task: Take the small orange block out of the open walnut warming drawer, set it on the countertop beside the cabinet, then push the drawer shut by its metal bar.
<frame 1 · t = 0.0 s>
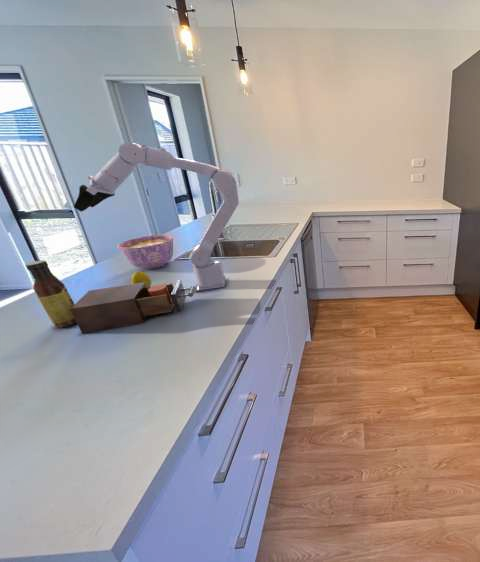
hand: (83, 207, 92), 32 cm above the worktop, tool tilted 50°, fingers open, 7 cm apart
cabinet: (120, 317, 94), on the worktop
bowl of food: (154, 266, 136), on the worktop
drawer: (164, 298, 97), point 4 cm above the worktop, slide at 9.0 cm, touching orange block
lemon: (145, 291, 111), on the worktop
sauce bottle: (68, 323, 92), on the worktop
orange block: (163, 304, 97), point 2 cm above the worktop, touching drawer
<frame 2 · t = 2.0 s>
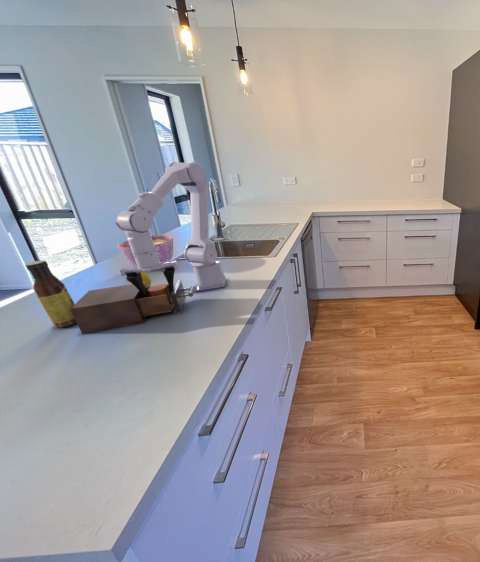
hand: (158, 292, 95), 7 cm above the worktop, tool pointing down, fingers open, 7 cm apart
nothing on the worktop moved.
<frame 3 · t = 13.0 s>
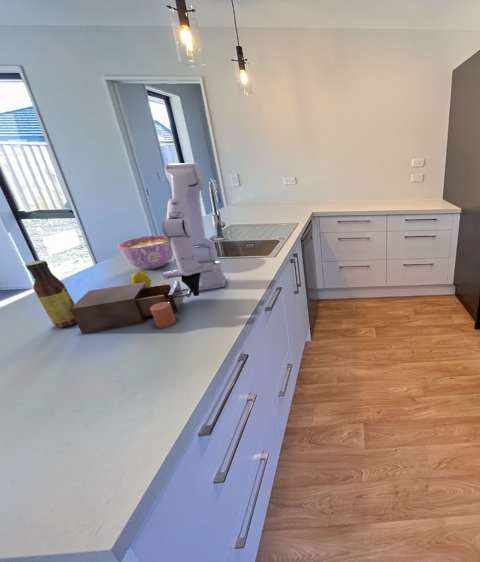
hand: (196, 294, 100), 3 cm above the worktop, tool pointing down, fingers closed
drawer: (161, 298, 96), point 4 cm above the worktop, slide at 8.3 cm, touching gripper
orange block: (166, 323, 90), on the worktop
everything else where it was.
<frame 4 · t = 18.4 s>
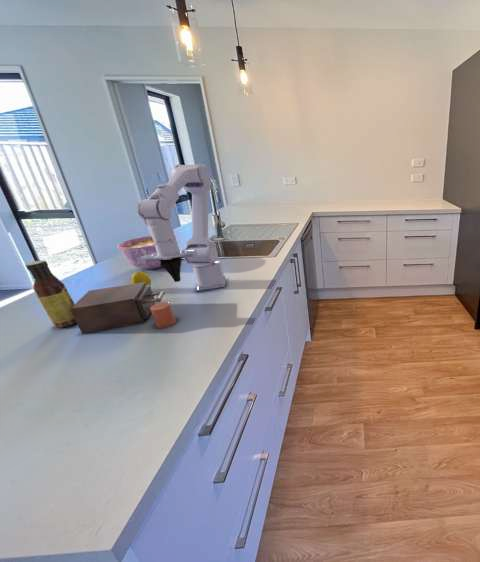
hand: (177, 280, 96), 9 cm above the worktop, tool pointing down, fingers closed
drawer: (130, 303, 93), point 4 cm above the worktop, slide at 0.0 cm, touching cabinet
everything else where it was.
at the end: orange block inside the target area (0.1 cm from its centre), on the worktop; orange block tilted 0°; drawer slide at 0.0 cm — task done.
